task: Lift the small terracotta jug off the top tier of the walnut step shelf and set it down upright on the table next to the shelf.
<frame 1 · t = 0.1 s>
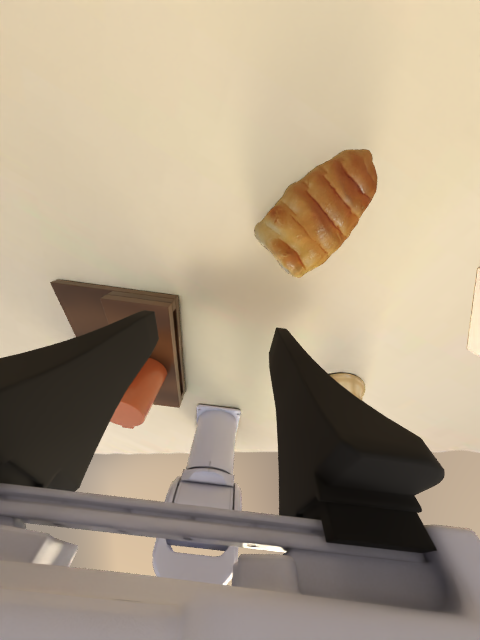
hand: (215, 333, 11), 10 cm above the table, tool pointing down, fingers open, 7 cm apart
hand bell: (334, 389, 28), on the table
step shelf: (134, 346, 25), on the table
pastry: (303, 222, 16), on the table
jug: (149, 369, 23), point 3 cm above the table, touching step shelf
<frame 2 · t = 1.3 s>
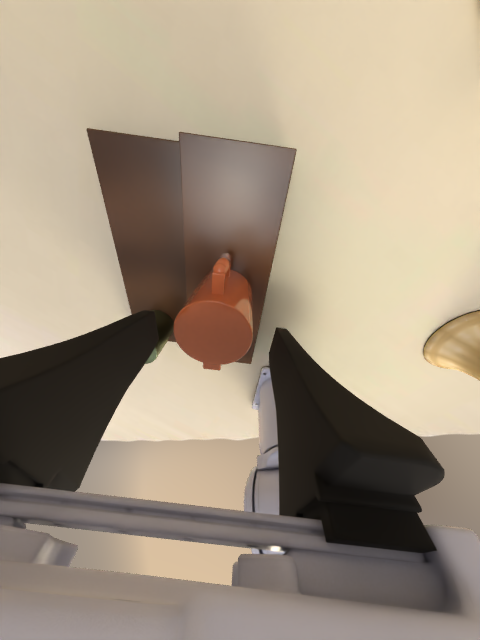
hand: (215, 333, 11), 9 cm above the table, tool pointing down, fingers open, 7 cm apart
hand bell: (464, 339, 20), on the table
tin: (159, 323, 20), point 1 cm above the table, touching step shelf
step shelf: (195, 269, 18), on the table
jug: (225, 295, 16), point 3 cm above the table, touching step shelf
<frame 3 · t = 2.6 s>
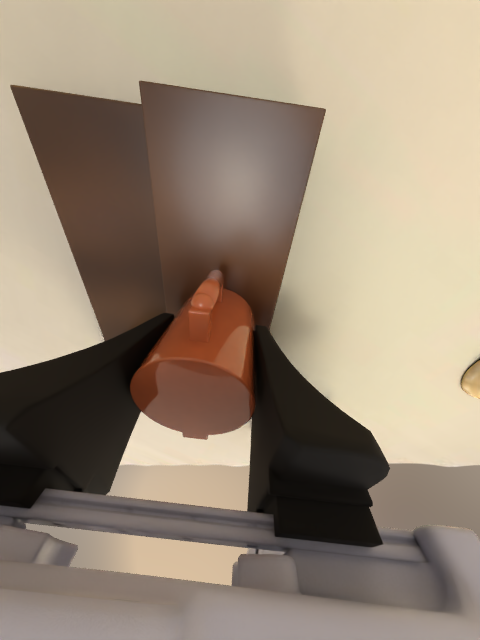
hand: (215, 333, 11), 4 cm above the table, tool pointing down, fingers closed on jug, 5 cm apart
step shelf: (180, 283, 14), on the table
jug: (218, 320, 12), point 3 cm above the table, touching gripper, step shelf
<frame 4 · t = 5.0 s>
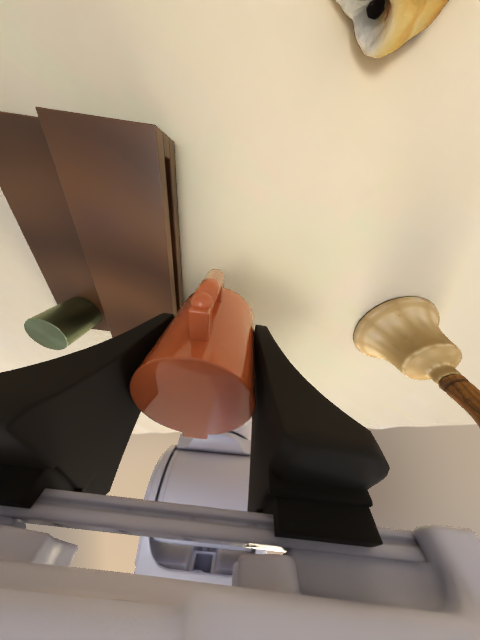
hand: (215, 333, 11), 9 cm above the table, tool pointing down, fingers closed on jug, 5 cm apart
hand bell: (391, 328, 20), on the table
tin: (85, 311, 20), point 1 cm above the table, touching step shelf
step shelf: (111, 255, 18), on the table
jug: (218, 320, 12), point 8 cm above the table, touching gripper
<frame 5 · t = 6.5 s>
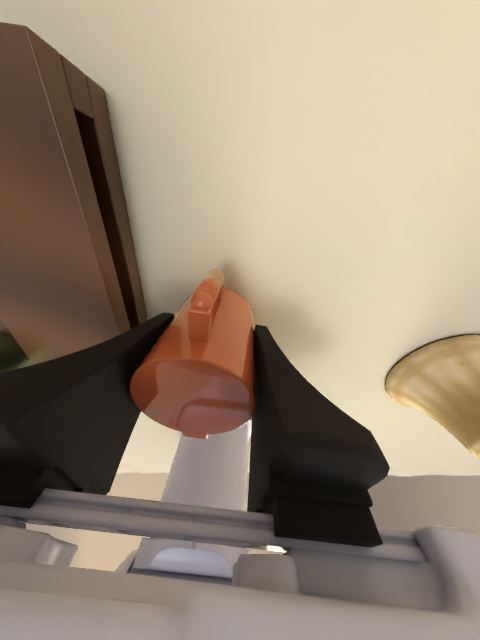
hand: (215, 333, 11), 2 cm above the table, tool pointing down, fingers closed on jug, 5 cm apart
hand bell: (438, 372, 15), on the table
tin: (16, 350, 15), point 1 cm above the table, touching step shelf
step shelf: (39, 276, 12), on the table
jug: (218, 320, 12), point 1 cm above the table, touching gripper
when the fingers open (1 cm above the table, at t = 7.3 s): jug stays where it is, on the table.
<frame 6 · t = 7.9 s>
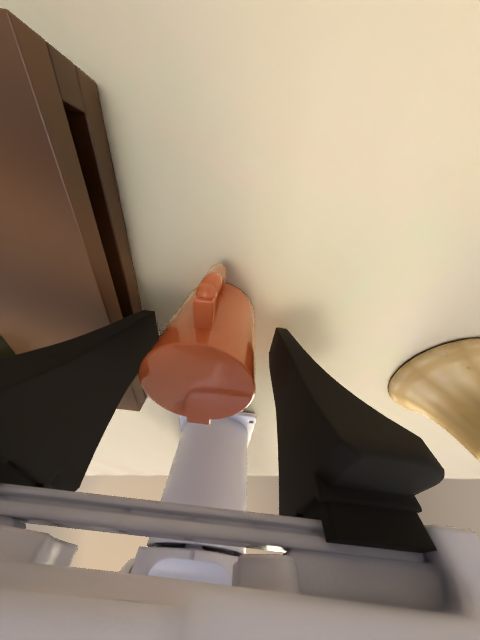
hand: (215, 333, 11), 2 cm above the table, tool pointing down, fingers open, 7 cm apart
hand bell: (443, 375, 14), on the table
tin: (10, 353, 14), point 1 cm above the table, touching step shelf
step shelf: (32, 277, 12), on the table
jug: (219, 314, 12), on the table
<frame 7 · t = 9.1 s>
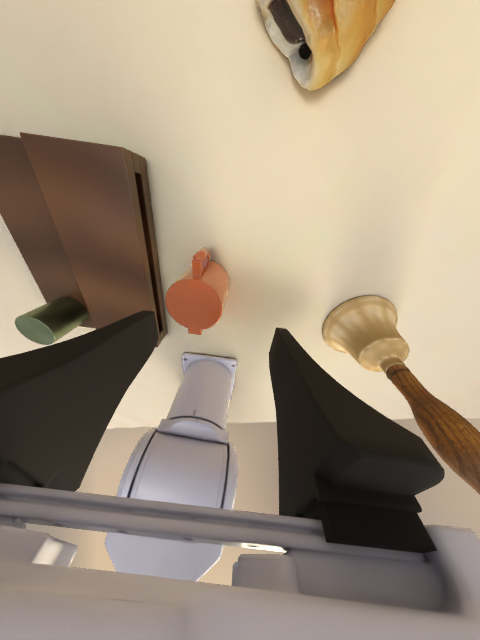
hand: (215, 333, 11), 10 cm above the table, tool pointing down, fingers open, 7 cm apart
hand bell: (356, 325, 22), on the table
tin: (72, 309, 22), point 1 cm above the table, touching step shelf
step shelf: (94, 258, 19), on the table
jug: (208, 281, 20), on the table
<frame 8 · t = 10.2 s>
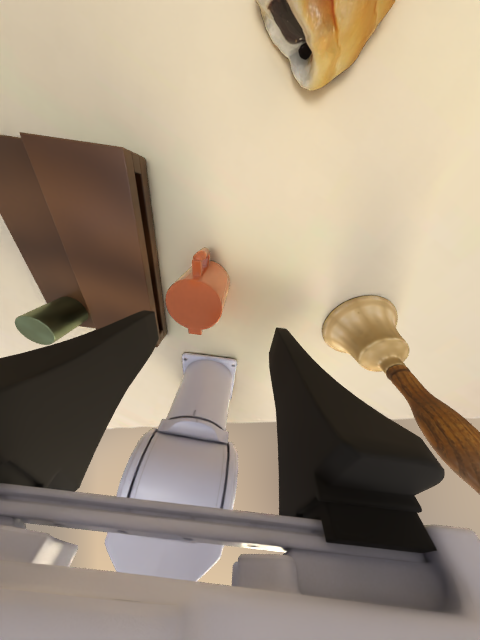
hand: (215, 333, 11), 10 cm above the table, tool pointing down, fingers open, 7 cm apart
hand bell: (356, 325, 22), on the table
tin: (72, 309, 22), point 1 cm above the table, touching step shelf
step shelf: (94, 258, 19), on the table
jug: (208, 281, 20), on the table
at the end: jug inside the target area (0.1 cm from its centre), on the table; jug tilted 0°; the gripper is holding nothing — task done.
